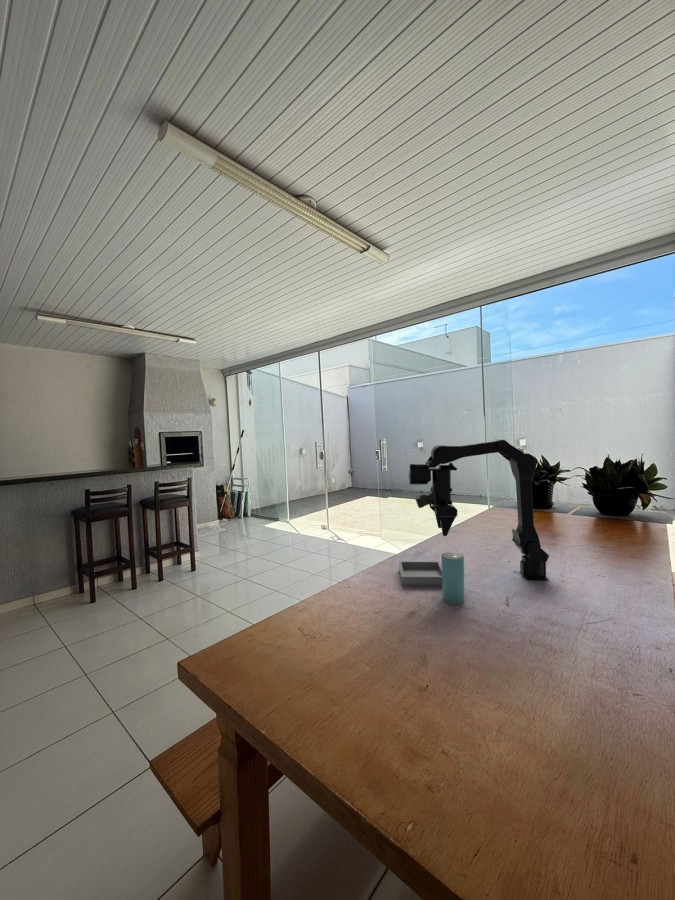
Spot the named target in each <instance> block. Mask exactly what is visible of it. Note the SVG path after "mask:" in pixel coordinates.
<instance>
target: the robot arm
mask: <svg viewBox="0 0 675 900" xmlns="http://www.w3.org/2000/svg"><path fill="white" fill-rule="evenodd" d="M496 453H499V455H501V456H502V457H503V458H504V459H505V460H507V461H508V462H509V465H510V470H511V472H512V475H513V478H514V480H515V489H516V507H517V521H518V522H517V526H516V528H511V533H512V540H511V541H512V542H513V543H514V546H516V548H518V549H519V550H520V552H521V554H522V555H521V560H520V561H519V567H520V568H519V573H520V574H521V575H522V576H523V577H524V579H526V580H528V581H532V580H533V581H536V580H537V581H548V580H549V577H548V576H547V562H548V560H549V557H550V555H549V554H548V553H547V552H546V551H545V550H544V549H543V548H542V546H541V542H540V539H539V535H538V532H537V530H536V527H535V525H534V524H535V523H534V521H535V520H534V518H535V517H534V506H533V505H534V503H533V500H534V499H533V486H532V484H533V479H534V477H535V474H536V467H537V460H536V458H535V456H533V455H532V454H531V453H528V452H523V450H520V449H518V448H517V447H515V446H513V445H512V444H511V443H509V442H508V441H507V440H506V439H499V438H497V439H494V440H489V441H482V442H476V443H469V444H468V443H467V444H464V445H463V444H462V445H452V444H451V445H450V444H438V445H435V446H433V448H432V449H431V451H430V456H429V458H428V460H426V462H425V463H409V472H408V482H409V483H408V484H409V486H414V485H416V486H419V485H422V486H423V485H428V483H430V482H431V481H432V486H431V487H430V490H429V491H427V492H424V493H421V494H418V495H416V496H415V497H414V499H415V502H416V504H417V507H418V508H419V509H422V508H424V507H426V506H429V508H430V509H431V510H432V511H433V512H434V516H435V520H436V524H437V528H438V529H441V533H442V536H443V537H447V536H448V534H449V532H450V530H451V527H452V525H453V523H454V521H455V519H456V518H457V517H458V509H457V508H456V507H455V506H454V505H453V500H452V492H453V488H452V484H451V481H452V480H451V479H452V477H451V476H452V474H451V472H452V471H457V470H458V468H457V467H456V466H455V465H454V464H453V462H455V461H457V460H459V459H463V458H467V457H473V456H482V455H488V454H489V455H490V454H496Z"/></svg>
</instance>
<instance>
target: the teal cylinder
mask: <svg viewBox="0 0 675 900" xmlns="http://www.w3.org/2000/svg"><path fill="white" fill-rule="evenodd" d="M464 559H465V556H464V555H463V554H462V553H459V552H444V553H442V554H441V565H442V587H441V593H442V595H441V598H442V599H441V600H442V601H444V602H445V603H446V604H451V605H461V604H463V603H464V602H465V560H464Z"/></svg>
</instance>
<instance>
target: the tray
mask: <svg viewBox="0 0 675 900" xmlns="http://www.w3.org/2000/svg"><path fill="white" fill-rule="evenodd" d="M398 565H399V566H398V569H399V575H400V576H399V577H400V582H401V583H400V584H401V587H440V586H442V562H440V560H439V561H438V560H437V561H436V560H432V561H431V560H430V561H429V560H427V561H424V560H423V561H421V560H420V561H418V560H417V561H416V560H414V561H412V560H407V561H406V560H405V561H402V560H401V561H400V560H399V561H398Z"/></svg>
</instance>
